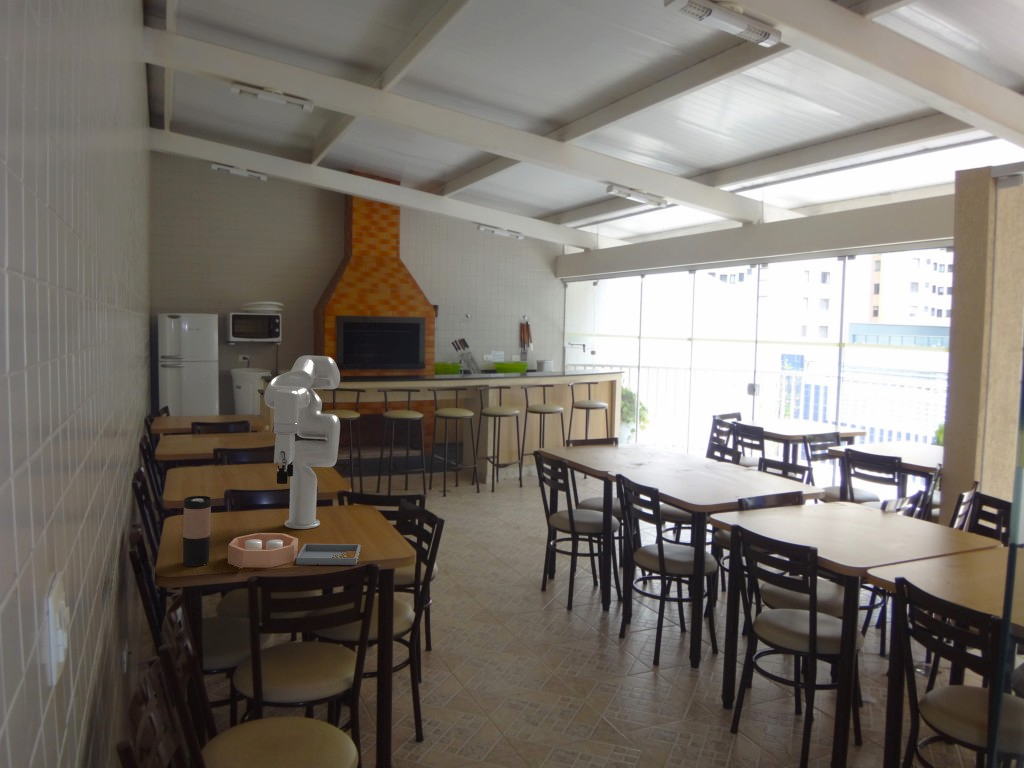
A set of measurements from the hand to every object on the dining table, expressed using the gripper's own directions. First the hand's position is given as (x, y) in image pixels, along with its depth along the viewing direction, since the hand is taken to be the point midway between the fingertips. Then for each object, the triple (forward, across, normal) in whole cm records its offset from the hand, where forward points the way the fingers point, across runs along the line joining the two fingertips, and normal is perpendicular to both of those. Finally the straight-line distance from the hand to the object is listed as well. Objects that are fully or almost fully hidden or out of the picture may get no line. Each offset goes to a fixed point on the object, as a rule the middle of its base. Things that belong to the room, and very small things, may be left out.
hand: (285, 479), depth 233 cm
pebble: (+22, +10, -1) cm, 25 cm away
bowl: (+23, +10, -4) cm, 26 cm away
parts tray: (+23, +9, +16) cm, 30 cm away
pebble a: (+22, +10, -7) cm, 26 cm away
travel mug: (+23, +14, -23) cm, 36 cm away
